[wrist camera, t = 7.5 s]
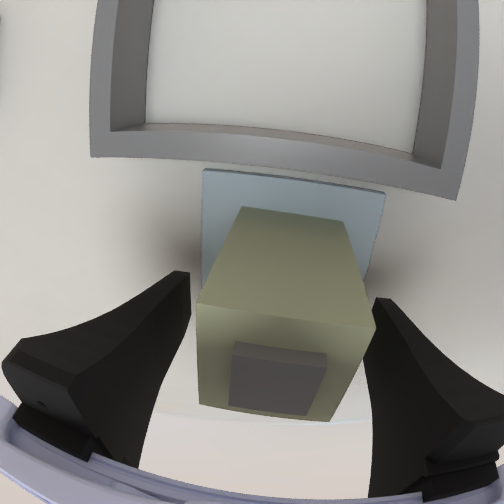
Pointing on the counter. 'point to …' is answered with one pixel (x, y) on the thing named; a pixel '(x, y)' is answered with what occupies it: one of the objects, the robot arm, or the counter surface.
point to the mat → (286, 208)
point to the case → (287, 142)
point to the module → (282, 317)
